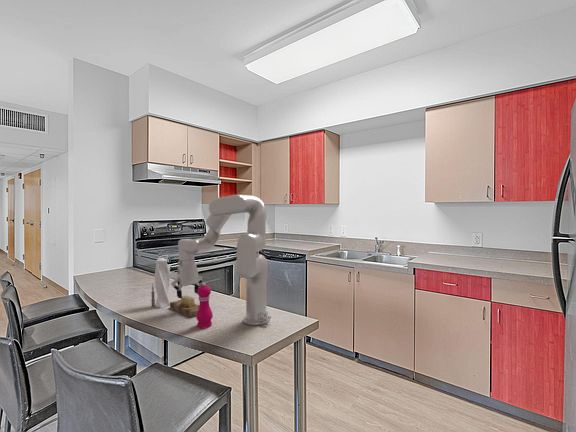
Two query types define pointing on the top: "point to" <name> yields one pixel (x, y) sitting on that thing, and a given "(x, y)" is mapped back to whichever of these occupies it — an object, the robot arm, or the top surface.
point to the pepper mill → (204, 307)
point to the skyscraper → (161, 283)
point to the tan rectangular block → (187, 301)
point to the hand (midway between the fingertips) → (188, 295)
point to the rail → (184, 309)
